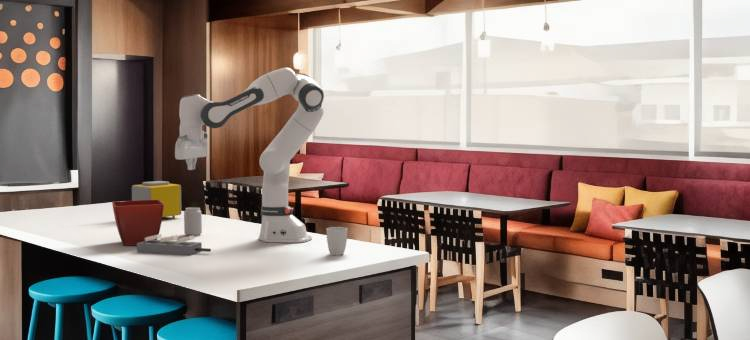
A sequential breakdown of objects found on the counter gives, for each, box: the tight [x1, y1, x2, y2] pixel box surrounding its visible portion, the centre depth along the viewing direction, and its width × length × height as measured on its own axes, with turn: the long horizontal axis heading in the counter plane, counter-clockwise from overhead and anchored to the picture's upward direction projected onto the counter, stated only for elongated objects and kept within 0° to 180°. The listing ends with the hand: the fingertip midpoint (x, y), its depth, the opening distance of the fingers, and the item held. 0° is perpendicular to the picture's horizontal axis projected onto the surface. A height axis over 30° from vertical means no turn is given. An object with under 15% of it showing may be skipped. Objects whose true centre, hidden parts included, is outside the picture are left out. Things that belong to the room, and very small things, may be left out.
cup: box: [325, 226, 349, 256], centre depth 328 cm, size 8×8×10 cm
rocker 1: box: [145, 233, 163, 242], centre depth 335 cm, size 6×3×2 cm, turn 73°
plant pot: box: [112, 200, 164, 246], centre depth 353 cm, size 19×19×17 cm
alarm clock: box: [131, 180, 182, 219], centre depth 427 cm, size 20×16×18 cm
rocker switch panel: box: [136, 239, 212, 256], centre depth 332 cm, size 29×9×4 cm, turn 73°
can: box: [183, 206, 203, 237], centre depth 375 cm, size 8×8×12 cm
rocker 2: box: [160, 234, 179, 242], centre depth 333 cm, size 6×3×2 cm, turn 73°
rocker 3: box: [176, 236, 195, 243], centre depth 331 cm, size 6×3×2 cm, turn 73°
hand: (191, 169), depth 342 cm, fingers closed
